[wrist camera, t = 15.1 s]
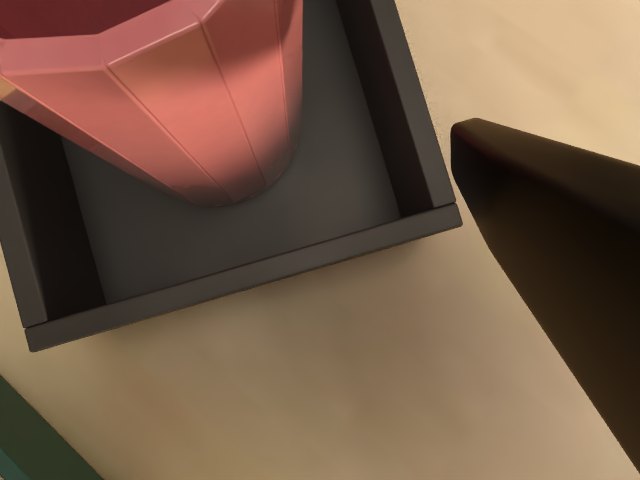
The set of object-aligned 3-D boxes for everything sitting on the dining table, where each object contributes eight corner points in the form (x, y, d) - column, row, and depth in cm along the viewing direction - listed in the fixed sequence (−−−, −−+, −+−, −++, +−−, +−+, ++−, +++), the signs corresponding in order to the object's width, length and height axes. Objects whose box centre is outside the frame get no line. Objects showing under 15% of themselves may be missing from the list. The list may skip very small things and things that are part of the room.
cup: (222, 243, 19) (57, 181, 6) (91, 129, 19) (-344, -167, 6) (336, 114, 20) (404, -196, 7) (207, 3, 20) (25, -518, 7)
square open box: (421, 237, 20) (464, 225, 15) (102, 332, 20) (28, 353, 14) (329, -66, 21) (339, -181, 16) (16, 16, 20) (-84, -75, 15)
